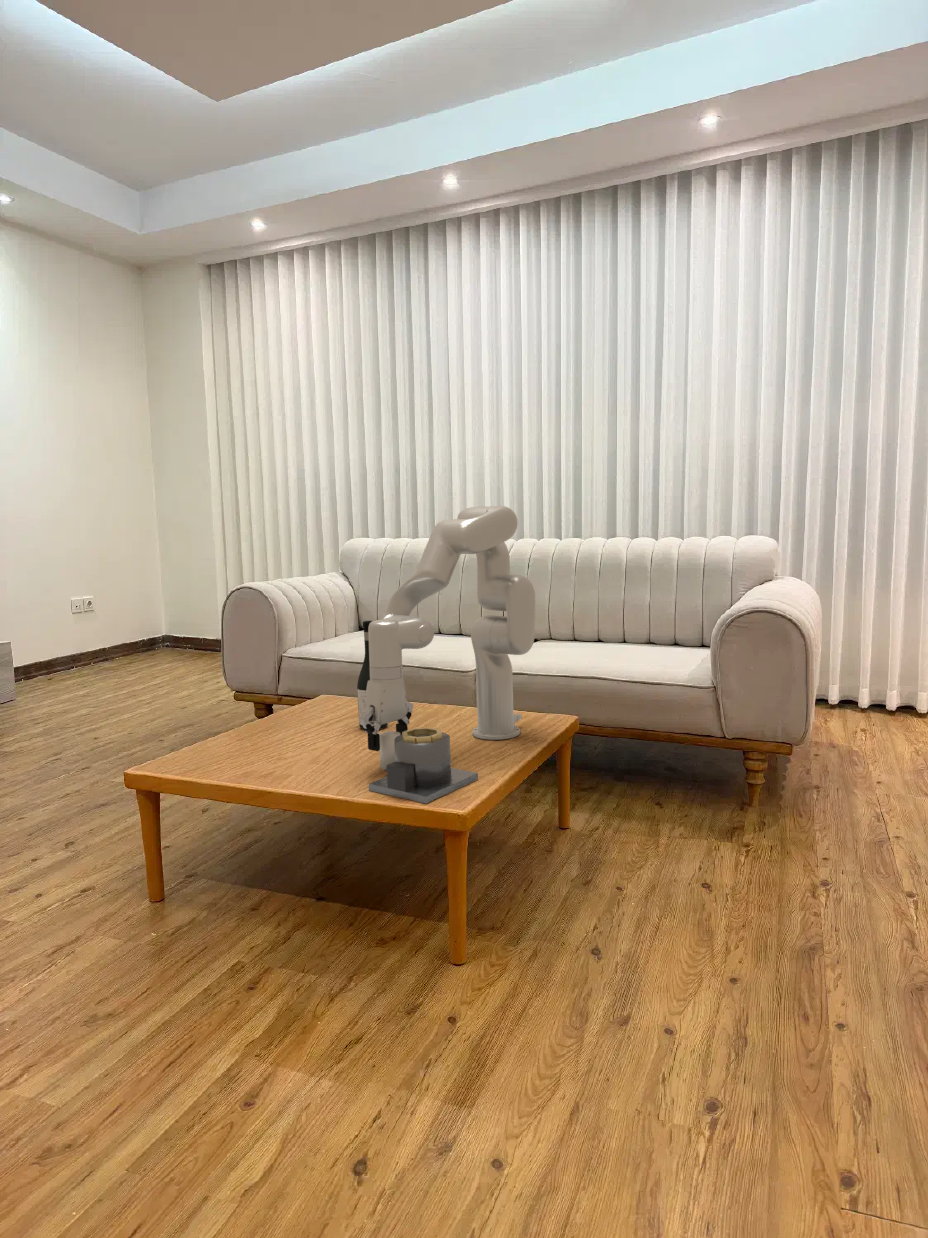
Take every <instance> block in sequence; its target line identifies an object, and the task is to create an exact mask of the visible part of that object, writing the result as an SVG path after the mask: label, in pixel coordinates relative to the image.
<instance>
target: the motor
mask: <svg viewBox="0 0 928 1238" xmlns="http://www.w3.org/2000/svg"><path fill="white" fill-rule="evenodd" d="M450 738H451V736H450V735H449V734H448V733H447V732H442V730H441V729H440V728H433V727H427V726H426V727H414V728H410V729H408V730H407V731H404V732H402V734H401V735H399V736H397V737H396V738H395V739H394V741H395V761H396V762H393V763H391V764H388V765H387V770H386V776H384V777H381V778H380V779H377V780H375V781H372V782H370V783H368V791H369V792H375V793H378V794H381V795H382V794H383V795H385V796H386V795H387V796H392V797H396V798H399V799H403V800H408V799H410V800H409V801H412V800H414V801H413V802H416V801H418V803H421V802H422V803H421V804H425V805H427V804H429V803H431V802H433V801H435V800H434V799H436V800H438V799H440V798H442V797H444V796H446V795H449V794H450V793H452V791H453V790H455V791H457V790H458V789H461V788H463V787H465V786H468V785H469V784H472V783H473V782H475V780H476V781H479V773H478V772H475V771H470V770H465V769H464V770H463V769H459V768H454V767H452V761H451V758H452V757H451V754H452V753H451V739H450ZM453 792H454V791H453ZM445 794H446V795H445ZM443 795H444V796H443ZM441 796H442V797H441ZM439 797H440V798H439ZM437 798H438V799H437ZM432 800H433V801H432ZM430 801H431V802H430Z"/></svg>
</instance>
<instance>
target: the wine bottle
mask: <svg viewBox="0 0 928 1238" xmlns="http://www.w3.org/2000/svg"><path fill="white" fill-rule="evenodd" d="M372 621H373V620H364V621H363V622H362V628H363V637H364V638H363V639H364V659H363V662H362V667H361V669H360V671H359V676H358V678H357V683H356V684H357V687H356V690H357V692H356V694H357V709H358V725H359V728H360V729H362V730H364V729H363V727H362V724H361V722H360V719H359V718H360V716H361V715H362V714H363V713H364V712H365V698H366V689H367V683H368V681H369V680H370V662H369V634H368V627H369V624H370V623H371V622H372ZM375 725H376V724H374V725H373V728H374V727H375ZM388 725H389V723H386V724H381V726H380V728H379V730H382V728H383V729H385V728H386V727H387V726H388Z"/></svg>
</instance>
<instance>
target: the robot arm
mask: <svg viewBox="0 0 928 1238" xmlns="http://www.w3.org/2000/svg"><path fill="white" fill-rule="evenodd" d="M518 524H519V523H518V518H517V514H516V513H515V511H514V510H512V509H511V508H510V507H508V506H505V505H504V506H502V505H496V506H494V505H493V506H492V505H491V506H471V507H466V508H464V509H462V510H461V511H459V513H458V514H457V518H453V519H451V518H450V519H444V520H441V521H439V522H437V523H436V524H435V526H434V527H433V529H432V532H431V534H430V535H429V536H430V537H429V539H428V541H427V543H426V546H425V547H424V548H425V549H424V550H423V554H422V555H421V557H420V560H419V563H418V564H417V567H416V570H415V571H414V573H413V574H412V575H410V576H409V577H408V579H406V580H405V581H404V582H403V583H402V584H401V585H400V586H399V587H398V588H397V589H396V590H395V592H394V593H393V594H392V595H391V596H390V598H389V600H388V602H387V604H386V607H385V610H384V611H383V613H382V616H381V619H376V620H371V621H372V622H371V623H370V624H369V627H368V634H369V662H370V680H369V681H368V683H367V689H366V698H365V712H364V713H363V714H362V715H361V716H360V718H359V717H358V720H359V719H360V722H361V724H362V727H363V729H362V730H364V733H366V734H367V749H368V750H369V751H374V752H380V735H379V734H380V733H378V732H379V730H380V729H379V728H380V726H381V724H386V723H388V724H389V723H392V722H396V724H395V731H396V732H400V735H401V734H402V732H404V731H407V730H409V729H408V726H409V725H410V719H411V717H412V712H413V709H414V703H412V702H410V701H408V700H407V692H406V691H407V690H406V685H405V679H404V677H403V670H404V666H403V653H402V651H403V650H408V649H409V650H411V649H412V650H419V649H424V648H426V647H427V646H429V645H430V644H431V643H432V641H433V639H434V637H435V628H434V626H433V624H432V623H431V622H430V621H429V620H428V619H426V618H423V617H421V616H413V615H411V614H412V612H413V610H414V609H415V608H416V606H417V605H419V604H420V603H421V602H422V601H423V600H425V599H427V598H428V597H429V598H430V597H431V596H433V595H435V594H437V593H439V592H441V591H443V590H444V589H445V588H447V587H448V586H449V584H450V582H451V578H452V576H453V574H454V571H455V568H456V567H457V563H458V561H459V559H460V557H461V555H476V566H477V569H476V595H477V596H476V597H477V602H478V603H477V604H479V606H480V607H481V608H483V609H485V610H488V611H489V610H490V611H498V612H506V616H504V615H494V614H493V615H483V616H480V617H479V618H477V619H476V620H475V621H474V622H473V624H472V626H471V630H470V640H471V644H472V649H473V652H474V658H475V659H474V660H475V675H476V677H475V679H476V703H477V704H476V705H477V706H476V707H477V711H476V712H477V726H475V727H474V728H472V736H474V737H475V738H476V739H480V740H481V739H482V740H486V741H487V740H489V741H490V740H491V741H494V740H495V741H499V740H501V741H502V740H508V739H512V738H516V737H518V736H519V735H520V733H521V729H520V727H518V726H516V722H518V721H521V720H522V717H523V715H522V714H521V713H520V712H518V713H514V690H513V689H514V686H513V675H514V674H513V665H512V662H511V658H510V657H509V655H513V656H522V655H525V654H527V653H528V652H529V651H531V649H532V647H533V645H534V641H535V634H536V633H535V632H536V592H535V589H534V585H533V583H532V581H531V580H530V579H529V578H528V577H527V576H524V575H522V574H511V566H510V565H511V563H510V562H511V561H510V560H511V559H510V551H509V549H508V546H507V544H506V543H505V542H507V541H508V540H510V539H511V538H512V537H513V536H514V534H515V533H516V531H517V529H518ZM374 724H376V725H375V727H374V728H373V725H374Z"/></svg>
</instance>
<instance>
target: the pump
mask: <svg viewBox="0 0 928 1238" xmlns="http://www.w3.org/2000/svg"><path fill="white" fill-rule="evenodd" d="M378 734H379V735H380V750H379V763H380V769H381V770H383V771H387V765H388V764H391V763H393V762H396V761H395V741H394V739H395V738H396V737H397V736H399V735H400V732H396V730H395V731H394V730H393V731H391V730H389V731H383V732H380V733H378Z"/></svg>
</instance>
